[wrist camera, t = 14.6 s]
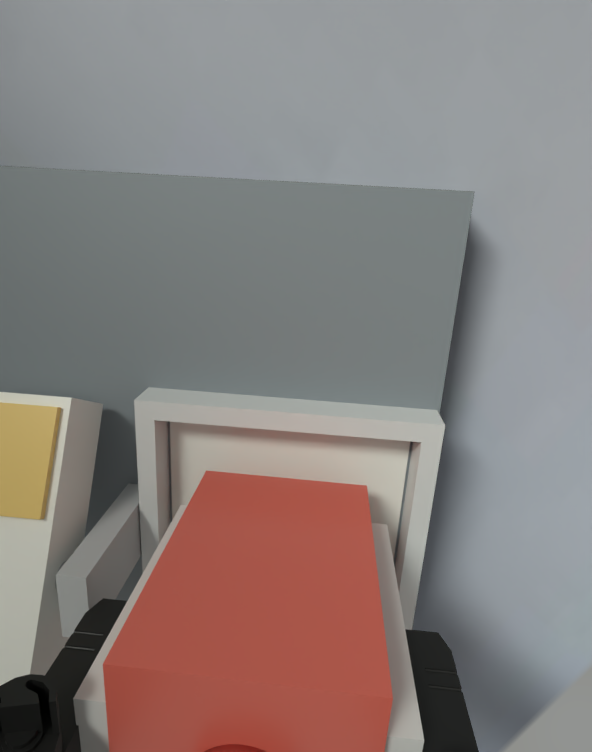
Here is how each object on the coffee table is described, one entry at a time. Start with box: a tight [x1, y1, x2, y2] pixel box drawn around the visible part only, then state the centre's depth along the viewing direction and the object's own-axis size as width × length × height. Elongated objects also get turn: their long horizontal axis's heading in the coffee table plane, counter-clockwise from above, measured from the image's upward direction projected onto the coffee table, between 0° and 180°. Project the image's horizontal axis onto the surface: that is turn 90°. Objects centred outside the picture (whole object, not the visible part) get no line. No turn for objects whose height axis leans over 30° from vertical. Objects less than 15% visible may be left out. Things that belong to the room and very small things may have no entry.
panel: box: [0, 166, 474, 637], centre depth 16 cm, size 22×22×7 cm
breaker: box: [0, 392, 103, 686], centre depth 14 cm, size 10×4×2 cm, turn 176°
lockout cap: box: [103, 470, 393, 752], centre depth 12 cm, size 5×5×8 cm
